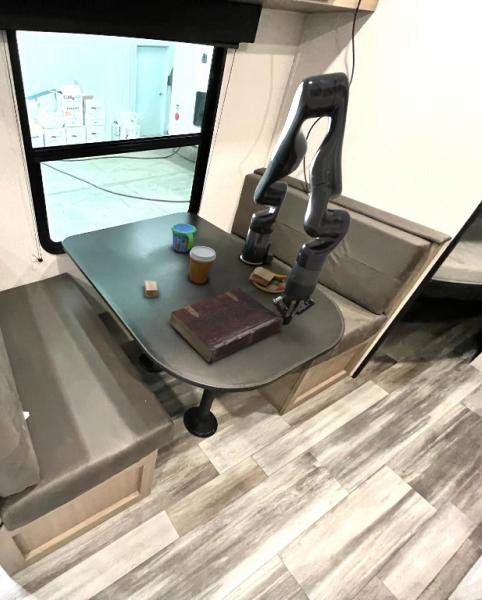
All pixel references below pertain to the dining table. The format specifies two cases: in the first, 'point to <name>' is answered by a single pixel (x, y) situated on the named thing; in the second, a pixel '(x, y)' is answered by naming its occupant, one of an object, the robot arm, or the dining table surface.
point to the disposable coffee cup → (201, 263)
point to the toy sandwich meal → (268, 280)
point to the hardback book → (225, 323)
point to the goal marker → (150, 289)
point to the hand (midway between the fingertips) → (283, 323)
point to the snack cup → (183, 237)
